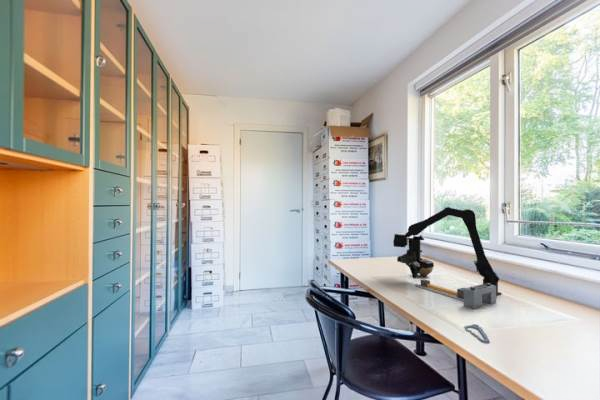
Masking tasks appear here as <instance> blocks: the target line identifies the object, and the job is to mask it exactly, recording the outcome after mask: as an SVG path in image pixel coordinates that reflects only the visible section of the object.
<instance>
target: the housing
mask: <svg viewBox="0 0 600 400" xmlns="http://www.w3.org/2000/svg"><path fill="white" fill-rule="evenodd" d="M430 284H431V285H435V284H432V283H430ZM414 286H415V287H418V288H420V289H424V290H426V291H430V292H433V293H437V294H440V295H443V296H446V297H448V298H452V299H455V300H458V301H462V302H463V307H466V308H469V309H472V310H476V309H480V308H483V302H484V303H487V304H489V305H492V304H497V295H496V286H494V285H491V283H486V284H483V283H482V284H478V285H474V286H471V285H470V287H469V286H468V287H463V288H464V299H463V298H460V297H457V296H454V295H450V294H447V293H444V292H441V291H438V290H434V289H431V288H428V287H425V286H421V284H418V283H415V284H414ZM435 286H438V287H441V288H445V287H443V286H439V285H435ZM445 289H448V290H451V291H455V290H453V289H449V288H445ZM455 292H457V290H456V291H455Z"/></svg>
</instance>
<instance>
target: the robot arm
mask: <svg viewBox="0 0 600 400" xmlns="http://www.w3.org/2000/svg"><path fill="white" fill-rule="evenodd" d="M448 216H451V217H456V218H460V219H462V221H463V223H464V225H465V227H466V229H467V231H468V235H469V238H470V241H471V243H472V246H473V247H472V248H473V250H474V253H475V256H476V260H473V264H474V266H475V270H476V272H477V273H478V274H479V275H480V276H481V277H483V278H482V284H486V283H491V285H494V286H496V296H499V295H503V293H502V292H500V291H499V281H500V278H499V276H498V274H497V273H496V272H495V271H494V270H493V267H492V266H491V263H490V262H489V260H488V259H487V256H486V254H485V251H484V248H483V247H484V246H483V245H482V242H481V238H480V235H479V232H478V229H477V221H476V213H475V211H474V210H471V209H467V208H466V209H465V208H464V209H463V210H462V209H458V208H453V207H449V206H446V207H444V208H443V209H442V210H440V211H438V212H437V213H435V214H433V215H431V216H430V217H428V218H426V219H425V220H422V221H418V222H416V223H412V224H410V225H409V226H408V229H407V231H406V233H405V234H399V233H395V234H394V237H393V247H395V248H406V247H407V246H408V249H406V253H404V254H402V255H399V256H398V257H397V258H396V259H397V262H398V263H401V264H405V266H407V267H409V269H410V273H411V276H412V278H413V279H416V278H417V277H418V275H419V271H420V269H421V268H432V267H433V268H434V267H435V266H434V262H433V261H432V260H429V261H427V260H428V259H427V260H425V261H420V260H422V259H423V258H421V257H422V256H421V253H423V250H422V249H421V241H424V240H425V237H423V236H422V235H419V234H420V233H422V232H423V231H424V230H425V229H427V228H428V227H430V226H431V225H433V224H436V223H437V222H439V221H441V220H443V219H445V218H447V217H448ZM418 235H419V236H418ZM412 236H413V237H412Z"/></svg>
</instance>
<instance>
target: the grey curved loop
mask: <svg viewBox="0 0 600 400" xmlns="http://www.w3.org/2000/svg"><path fill="white" fill-rule="evenodd" d="M470 328H471V329H475V330H478V331H479V332H480V334H481V335H482V337H483V338H484V339H482V338H481V337H480V336H479V335H478V334H476V333H475V332H473V331H472V330H471V329H470ZM464 329H465V330H466V332H469V333H470V334H471V335H472V336H474V337H475V338H477V340H479V341H480V342H481V343H484V344H487V343H490V340H489V337H488V335H487V333H485V332H484V331H485V330H483V327H481V326H480V325H478V324H470V325H465V326H464Z"/></svg>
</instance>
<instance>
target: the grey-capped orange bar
mask: <svg viewBox="0 0 600 400" xmlns="http://www.w3.org/2000/svg"><path fill="white" fill-rule="evenodd" d="M431 284H432V283H431V281H430V280H429V279H420V285H421V286H425V287H428V288H431V289H434V290H438V291H441V292H444V293H447V294H450V295H454V296H457V297H460V298H463V299H464V288H465V287H460V288H457V289H456V292H455V290H453V291H451V290H452V289H450V290H448V289H449V288H446V289H445V287H443V288H441V287H442V286H439V285H436V286H435V284H433V285H431ZM438 286H439V287H438Z"/></svg>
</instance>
